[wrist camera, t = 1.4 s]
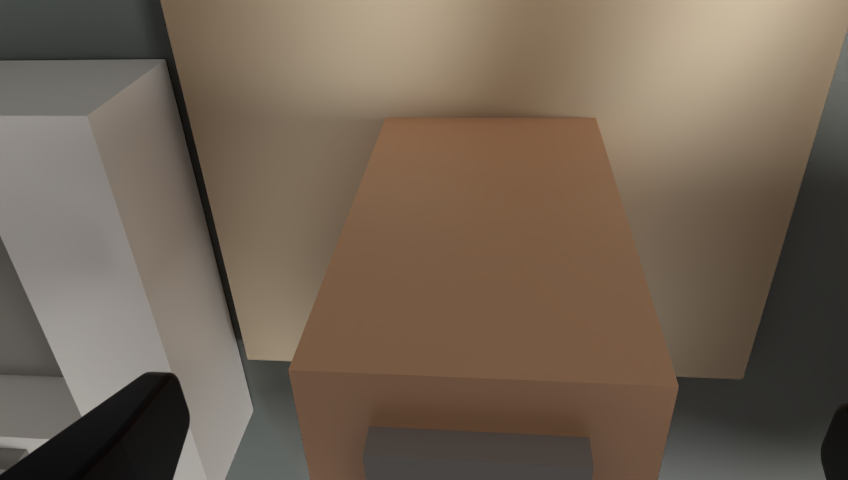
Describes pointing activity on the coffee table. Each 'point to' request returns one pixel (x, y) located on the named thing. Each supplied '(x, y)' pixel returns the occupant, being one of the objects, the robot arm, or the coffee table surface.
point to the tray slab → (513, 98)
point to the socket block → (107, 259)
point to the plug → (485, 315)
